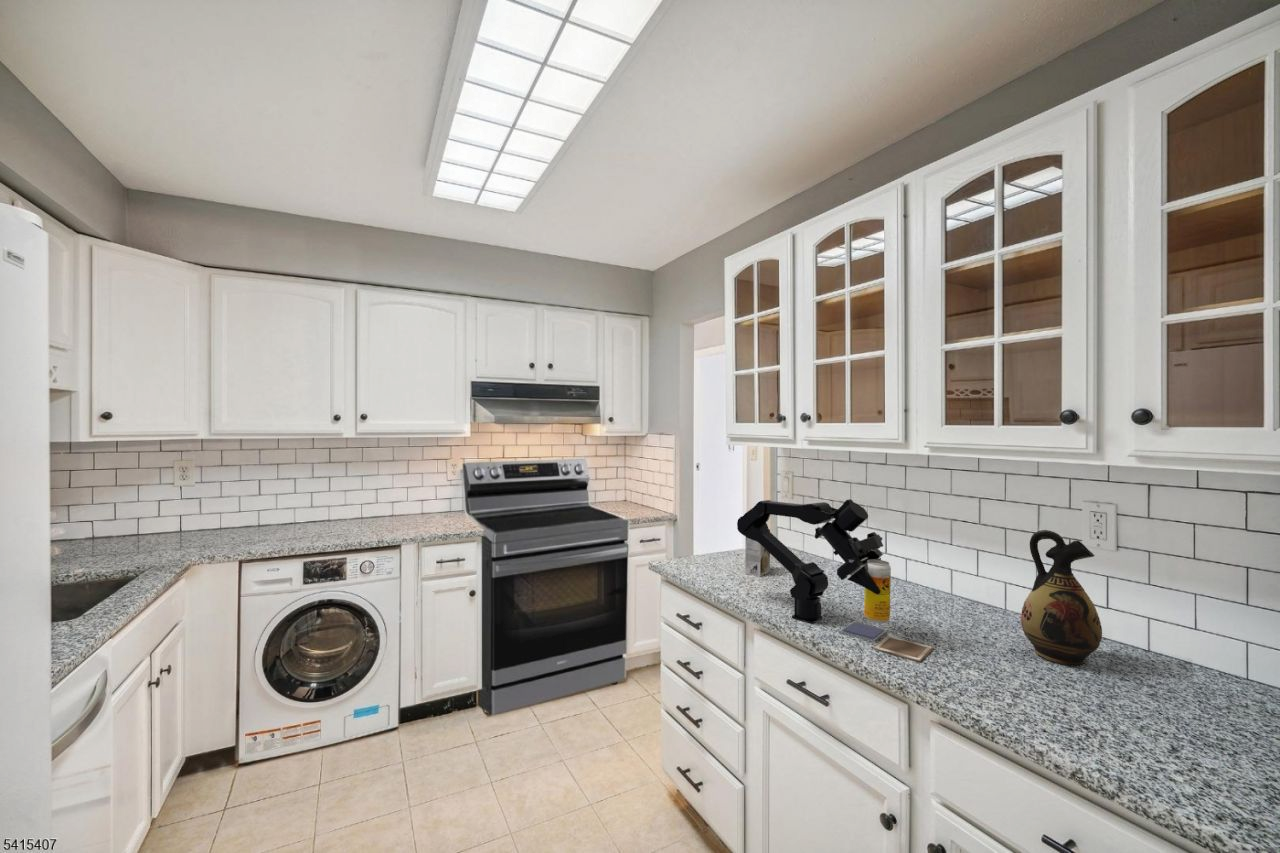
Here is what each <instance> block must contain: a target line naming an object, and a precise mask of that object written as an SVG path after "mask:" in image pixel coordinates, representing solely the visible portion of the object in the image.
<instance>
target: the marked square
mask: <svg viewBox="0 0 1280 853" xmlns="http://www.w3.org/2000/svg"><path fill="white" fill-rule="evenodd" d="M873 649H874V650H873ZM934 649H935V647H933V646H932V645H931V646H930V645H926V644H923V643H918V642H915V641H911V640H907V639H903V638H899V637H896V636H892V635H887V636H885V637H884V638H883V639H881V641H879V642H878V643H876V644H875V645H874V646H873V647H872V650H873V651H877V650H878V651H877V652H880V651H881V653H884V654H888V655H892V656H895V657H899V658H902V659H905V660H910V661H913V662H915V663H919V664H921V663H923V661H924V660H925V659H926V658H927V657H928V656H929V654H931V653H932V652H933V651H934Z"/></svg>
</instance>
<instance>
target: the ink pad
mask: <svg viewBox="0 0 1280 853" xmlns="http://www.w3.org/2000/svg"><path fill="white" fill-rule="evenodd" d="M840 633H841V635H844V634H845V636H848V635H849V637H851V636H853V638H855V637H856V639H859V638H860V640H862V639H864V640H863V641H866V640H868V641H867V642H870V641H871V643H873V642H875V643H877V642H878V641H879V640H880V639H881V637H882V638H883V637H884V636H886V635H887V634H888V630H886V629H884V628H881V627H880V628H879V627H875V626H871V625H868V624H864V623H860V622H856V621H852V622H851V623H850V624H848V625H847V626H845V627H844V628H841V630H839V634H840ZM877 640H878V641H877Z"/></svg>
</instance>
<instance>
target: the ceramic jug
mask: <svg viewBox="0 0 1280 853" xmlns="http://www.w3.org/2000/svg"><path fill="white" fill-rule="evenodd" d="M1042 540H1051V541H1053V542H1054V543H1055V544H1056V545H1054V546H1052V547H1050V548H1049V549H1048V550H1047V551H1046V552H1045V556H1046V558H1048V559H1052V560H1053V562H1052V563H1053V564H1052V566H1051V567H1050V569H1049V570H1048V572H1047V571H1046V569H1045V565H1044V563H1043V561H1042V558H1041V554H1040V551H1039V546H1038V544H1039V542H1040V541H1042ZM1029 550H1030V555H1031V557H1032V560H1033V562H1034V565H1035V568H1036V572H1037V575H1036V577H1035V580H1034V583H1033V586H1032V589H1031V591H1030V592H1029V594H1028V596H1026V598H1025V600H1024V602H1023V606H1022V608H1021V614H1020V626H1021V629H1022V631H1023V633H1024V635H1025V637H1026V638H1027V640H1028V641H1029V642H1030V643H1031V644H1032V645H1033V647H1034V649H1033V652H1034V653H1035V654H1037V655H1038V656H1040V657H1042V658H1043V659H1045V660H1047V661H1050V662H1053V663H1057V664H1060V665H1064V666H1068V667H1077V666H1079V667H1081V666H1080V665H1082V666H1084V665H1083V664H1085V665H1086V662H1085V661H1086V659H1087V658H1088V657H1089V656H1090V655H1091V654H1093V653H1094V652H1095V651H1096V650H1097V649H1098V648H1099V646H1100V644H1101V641H1102V638H1103V628H1102V625H1101V624H1102V622H1101V620H1100V617H1099V614H1098V612H1097V609H1096V607H1095V604H1094V602H1093V601H1092V599H1091V598H1090V596H1089V595H1088V593H1087V592H1086V590H1085V588H1084V587H1083V586H1082V585H1081V583H1080V582H1079V581H1078V580H1077V578H1076V576H1075V575H1074V573H1073V571H1072V568H1071V566H1072V563H1073V562H1076V561H1078V560H1083V559H1088V558H1094V557H1095V556H1096V555H1095V554H1094V553H1093V552H1092V551H1091V550H1090V549H1089V548H1087V546H1086V545H1084V544H1083V542H1082V541H1080V540H1073V541H1072V542H1070V543H1068V544H1066V542H1065V540H1064V538H1063V537H1062V536H1061V535H1060V534H1059V533H1057V532H1055V531H1052V530H1048V529H1040V530H1038V531H1036V532H1034V533H1033V534H1032V535H1031V537H1030V540H1029ZM1012 648H1013V646H1012Z"/></svg>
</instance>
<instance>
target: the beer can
mask: <svg viewBox="0 0 1280 853" xmlns="http://www.w3.org/2000/svg"><path fill="white" fill-rule="evenodd" d="M867 564H868V573H869V575H870V576H871V578H872V579H873V580H874V582H875V583H876V585H877V586H878V588H879V589H880V591H881V593H879V594H876V593H874V592H872V591H870V590H868V589H866V588H864V606H863V607H864V610H863V611H864V612H863V616H864V617H865V618H866V620H867V621H869V622H872V623H877V624H886V623H888V621H890V618H891V573H892V571H891V570H892V567H891V565H890V562H889V561H887V560H883V559H881V560H876V559H871V560H867V563H866V564H865V565H867Z"/></svg>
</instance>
